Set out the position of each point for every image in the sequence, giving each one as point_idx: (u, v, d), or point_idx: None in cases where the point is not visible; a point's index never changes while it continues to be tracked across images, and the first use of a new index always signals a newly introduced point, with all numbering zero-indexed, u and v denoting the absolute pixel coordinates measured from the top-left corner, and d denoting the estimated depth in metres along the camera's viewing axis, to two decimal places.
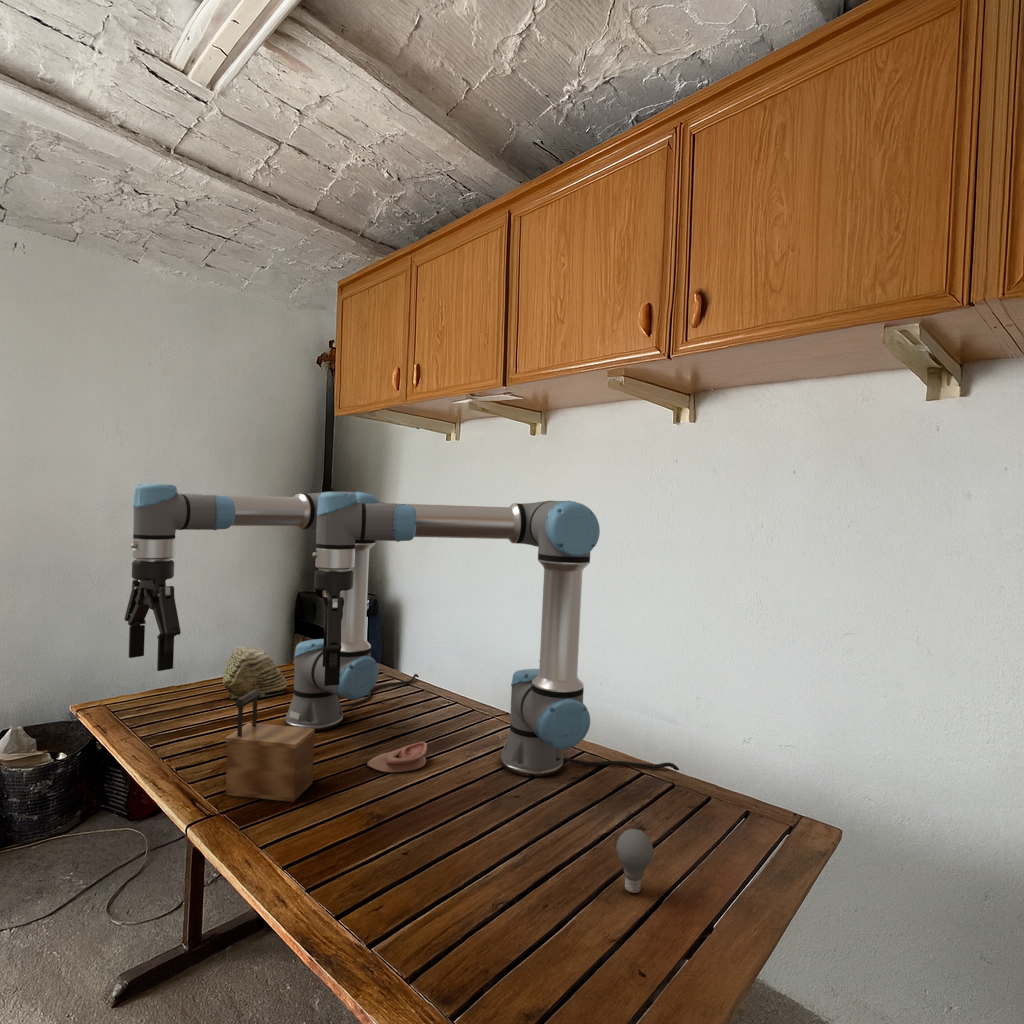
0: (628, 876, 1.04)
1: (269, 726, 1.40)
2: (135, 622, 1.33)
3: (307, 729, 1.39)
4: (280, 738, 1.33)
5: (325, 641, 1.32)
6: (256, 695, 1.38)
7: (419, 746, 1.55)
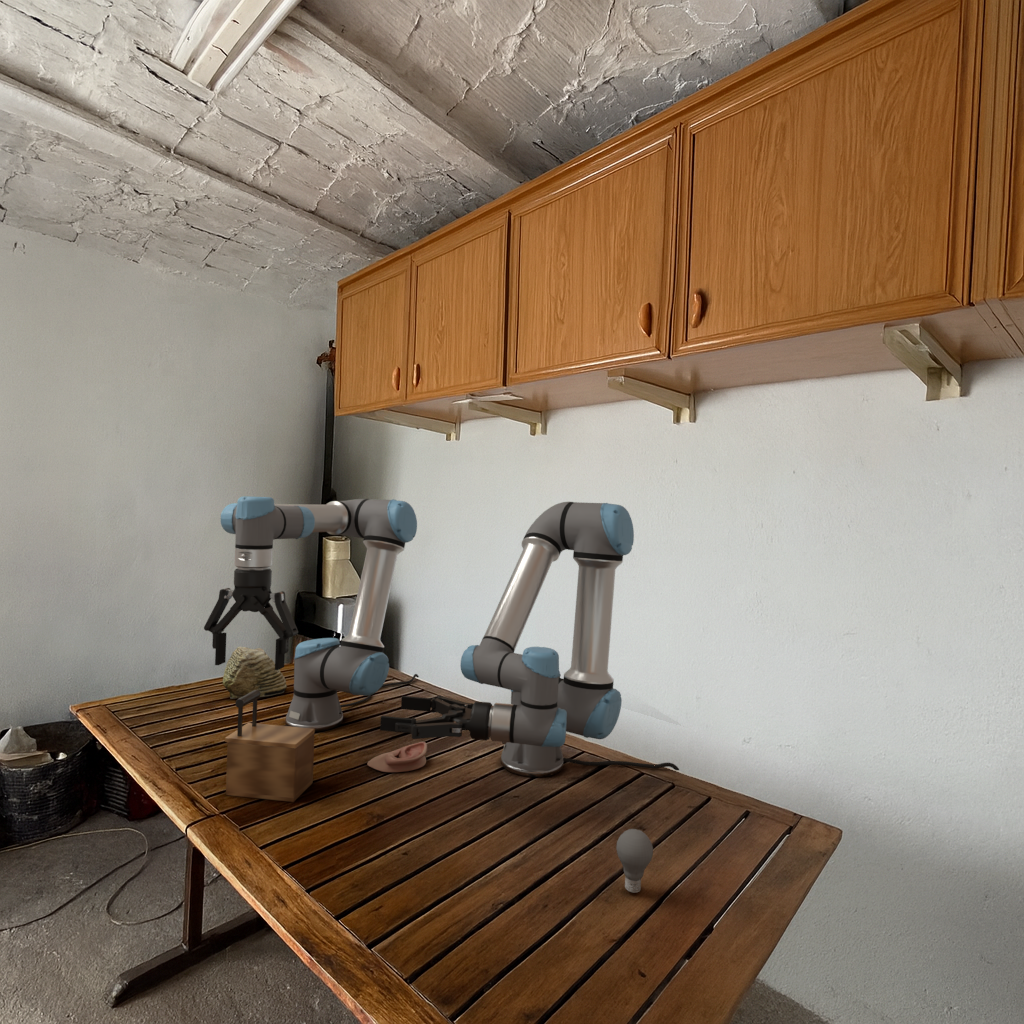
0: (628, 876, 1.04)
1: (269, 726, 1.40)
2: (219, 630, 1.37)
3: (307, 729, 1.39)
4: (280, 738, 1.33)
5: None
6: (256, 695, 1.38)
7: (419, 746, 1.55)
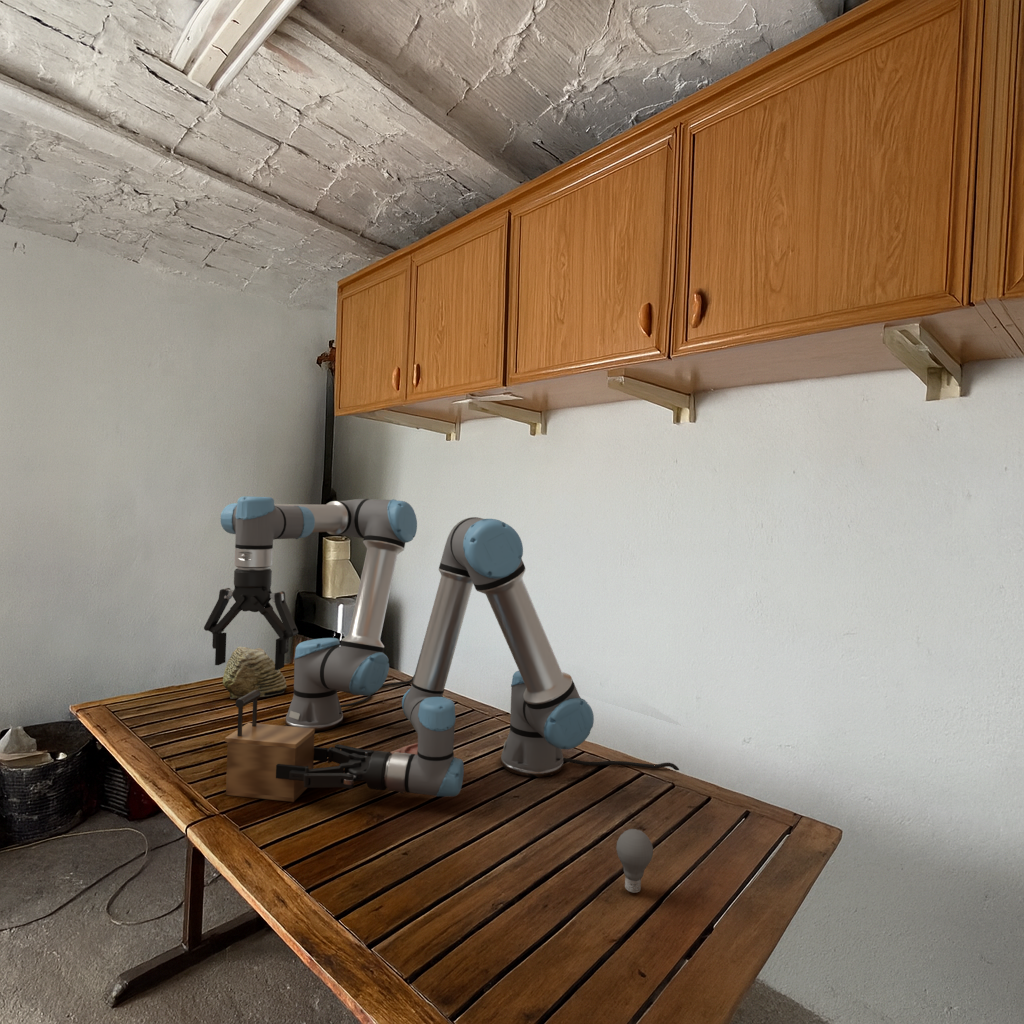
0: (628, 876, 1.04)
1: (269, 726, 1.40)
2: (219, 630, 1.37)
3: (307, 729, 1.39)
4: (280, 738, 1.33)
5: None
6: (256, 695, 1.38)
7: None
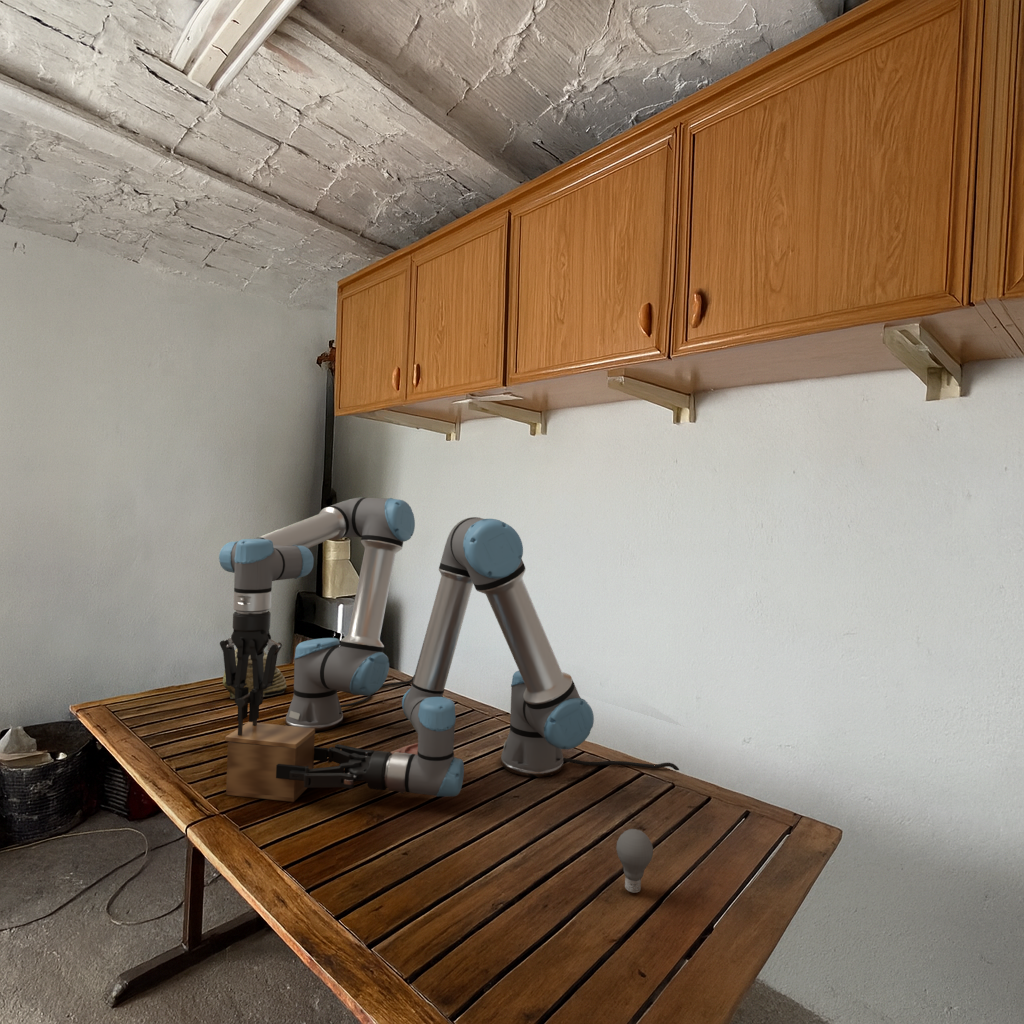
0: (628, 876, 1.04)
1: (269, 725, 1.40)
2: (241, 684, 1.37)
3: (308, 729, 1.39)
4: (280, 738, 1.33)
5: None
6: None
7: None
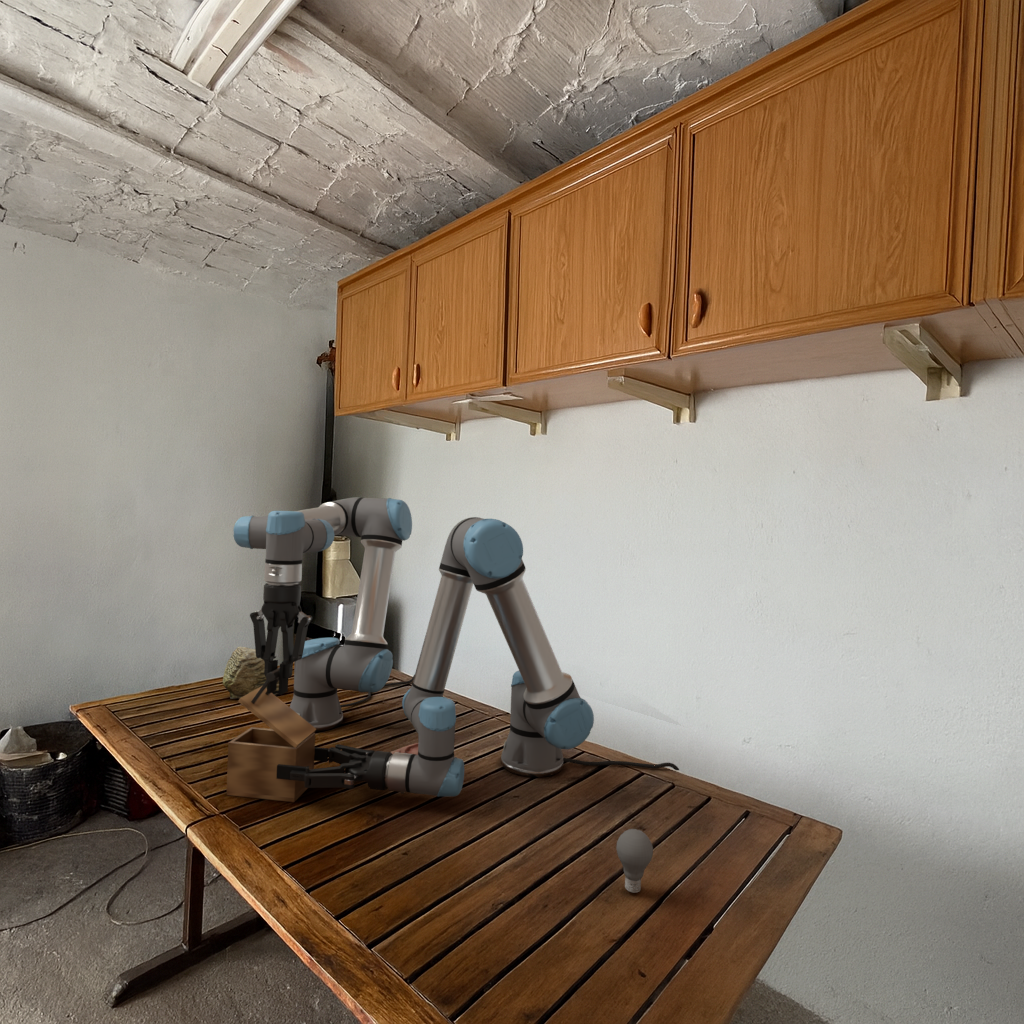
0: (628, 876, 1.04)
1: (279, 702, 1.40)
2: (270, 656, 1.36)
3: (310, 726, 1.39)
4: (286, 728, 1.33)
5: None
6: None
7: None
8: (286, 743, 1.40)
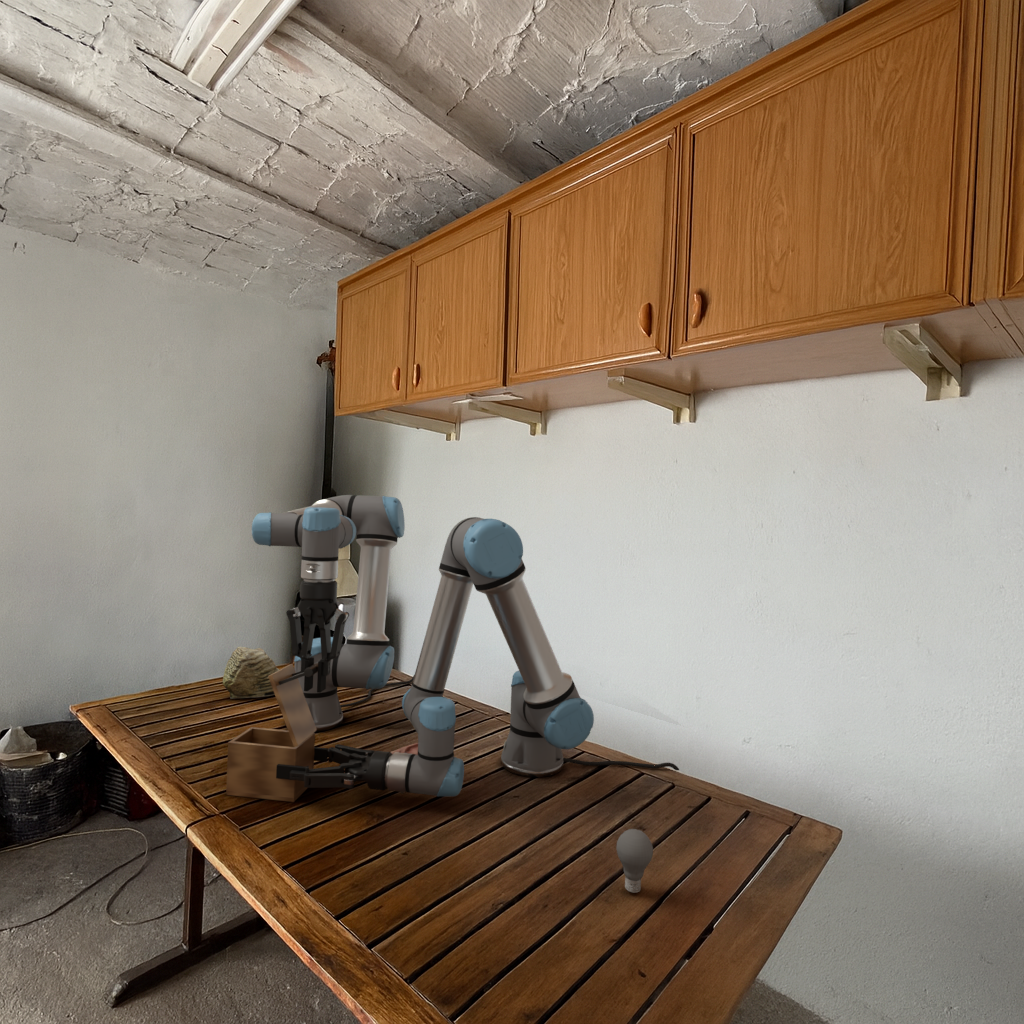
0: (628, 876, 1.04)
1: (299, 688, 1.39)
2: (307, 654, 1.35)
3: (313, 726, 1.39)
4: (295, 722, 1.33)
5: None
6: None
7: None
8: (286, 743, 1.40)
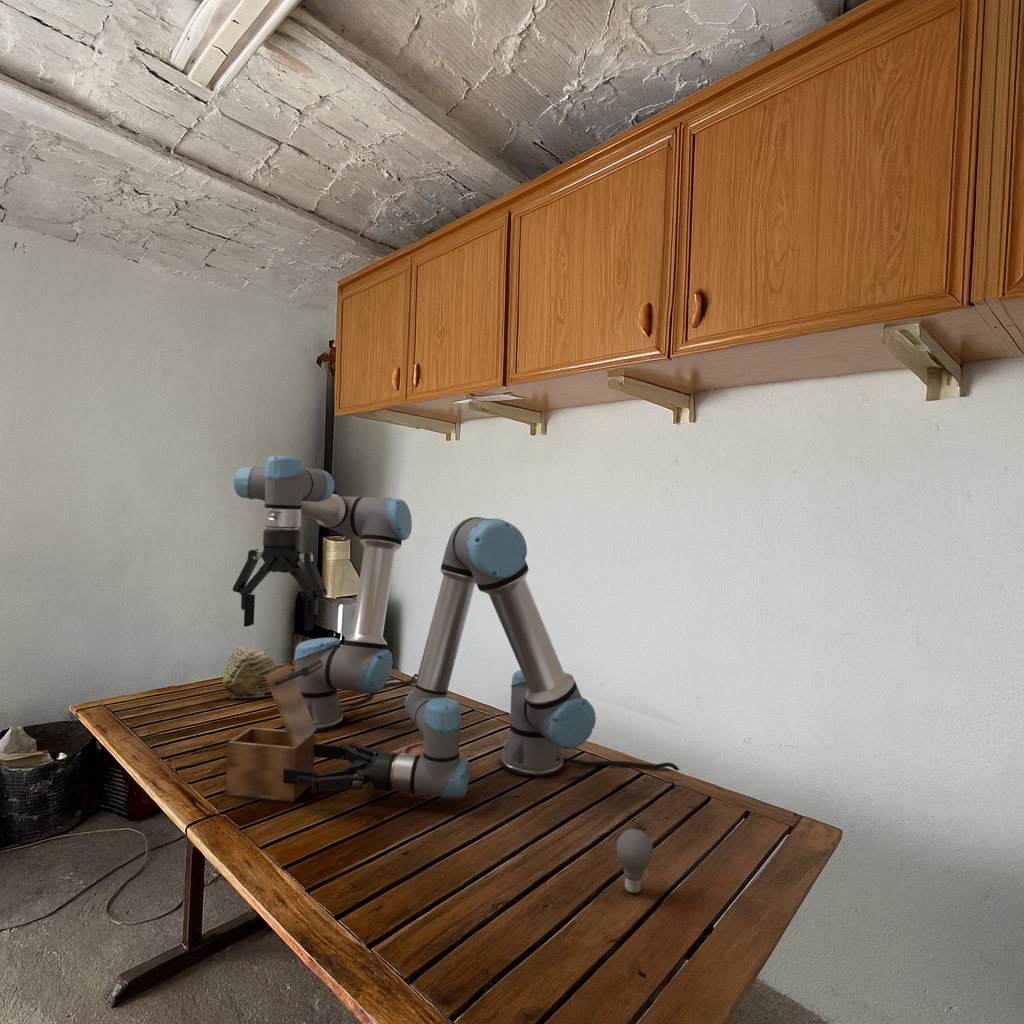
0: (628, 876, 1.04)
1: (296, 689, 1.39)
2: (247, 592, 1.36)
3: (312, 725, 1.39)
4: (294, 722, 1.33)
5: None
6: None
7: (419, 746, 1.55)
8: (285, 743, 1.40)
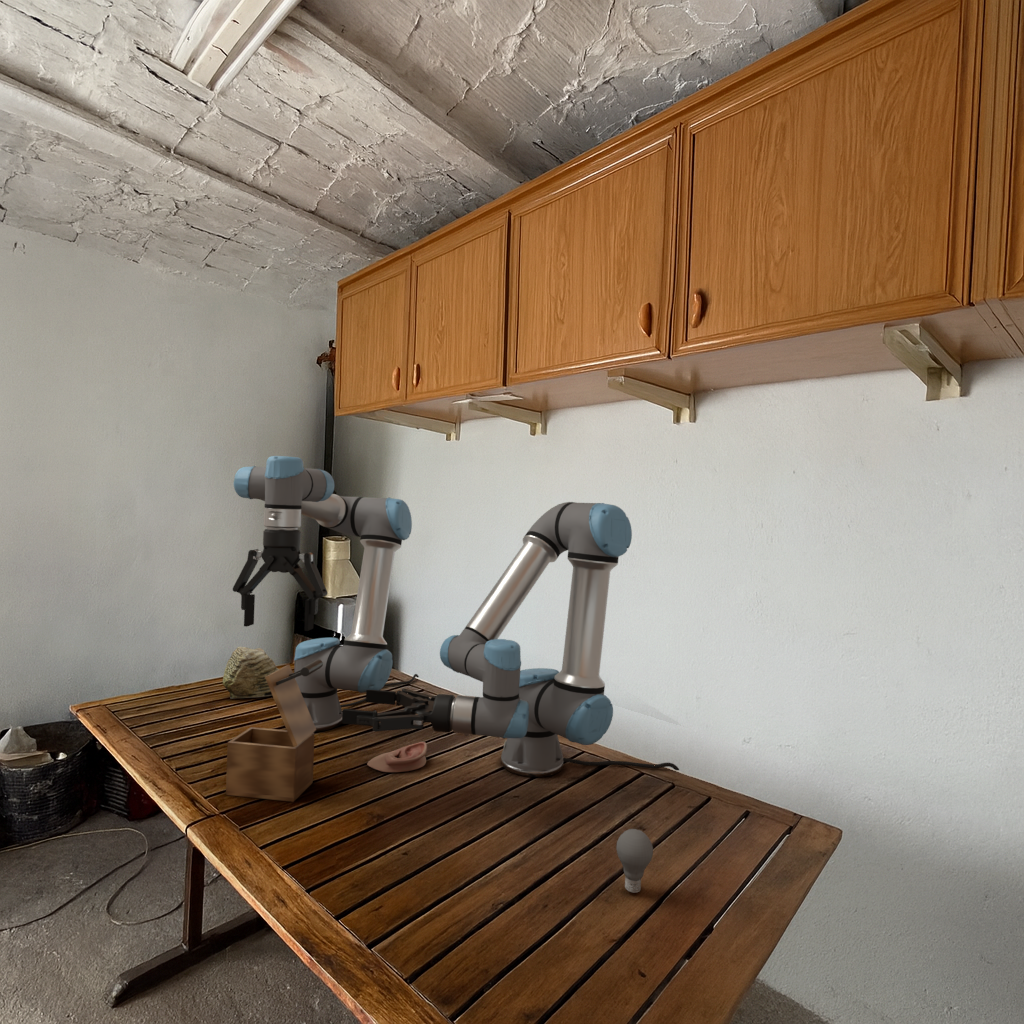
0: (628, 876, 1.04)
1: (296, 689, 1.39)
2: (247, 592, 1.36)
3: (312, 725, 1.39)
4: (294, 722, 1.33)
5: None
6: None
7: (419, 746, 1.55)
8: (285, 743, 1.40)
